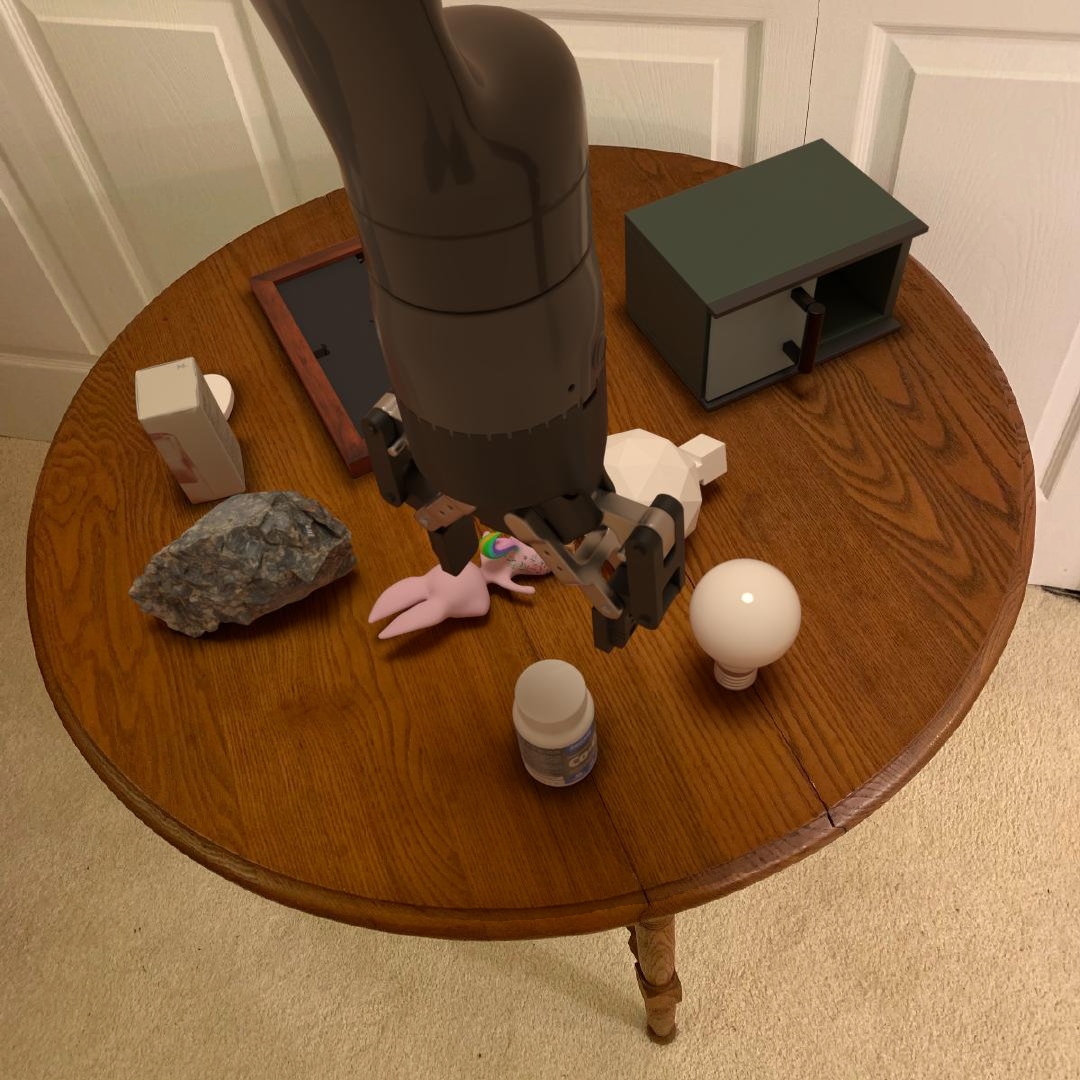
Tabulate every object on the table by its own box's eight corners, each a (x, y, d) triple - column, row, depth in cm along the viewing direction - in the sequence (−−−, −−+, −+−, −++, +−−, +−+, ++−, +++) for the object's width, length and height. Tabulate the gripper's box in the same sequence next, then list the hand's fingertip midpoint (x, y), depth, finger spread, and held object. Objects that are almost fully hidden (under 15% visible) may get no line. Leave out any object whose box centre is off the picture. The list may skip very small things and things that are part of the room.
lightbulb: (663, 676, 64) (667, 584, 55) (729, 616, 67) (743, 518, 58) (739, 741, 61) (756, 655, 52) (805, 676, 64) (832, 582, 55)
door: (825, 385, 77) (843, 301, 70) (729, 427, 75) (738, 345, 68) (799, 357, 79) (814, 273, 72) (704, 398, 77) (711, 315, 70)
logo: (238, 426, 80) (229, 360, 85) (235, 420, 79) (226, 353, 84) (158, 447, 80) (153, 379, 84) (154, 440, 79) (150, 372, 83)
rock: (198, 709, 66) (136, 633, 58) (143, 607, 71) (79, 524, 63) (383, 598, 70) (349, 512, 62) (318, 509, 75) (279, 419, 67)
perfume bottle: (635, 608, 65) (763, 524, 70) (617, 492, 60) (757, 410, 65) (555, 556, 71) (677, 482, 76) (532, 447, 66) (665, 375, 71)
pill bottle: (584, 797, 60) (577, 740, 53) (511, 776, 61) (495, 716, 54) (607, 728, 63) (603, 664, 56) (536, 708, 64) (524, 643, 57)
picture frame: (583, 377, 80) (454, 215, 94) (581, 359, 79) (450, 197, 92) (353, 478, 76) (253, 293, 90) (347, 461, 75) (246, 275, 88)
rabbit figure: (539, 528, 74) (354, 611, 68) (544, 471, 69) (346, 555, 63) (587, 585, 70) (397, 678, 65) (595, 530, 66) (392, 625, 60)
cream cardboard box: (186, 459, 79) (134, 367, 71) (241, 445, 79) (195, 353, 71) (189, 509, 76) (135, 419, 68) (246, 495, 76) (199, 404, 68)
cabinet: (900, 329, 81) (929, 226, 72) (707, 412, 77) (715, 314, 69) (805, 240, 88) (822, 137, 80) (625, 312, 84) (623, 212, 76)
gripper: (268, 347, 35) (369, 594, 48) (623, 501, 30) (628, 731, 43) (395, 225, 38) (458, 486, 52) (734, 344, 33) (707, 601, 46)
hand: (535, 597), depth 47 cm, fingers open, 8 cm apart
